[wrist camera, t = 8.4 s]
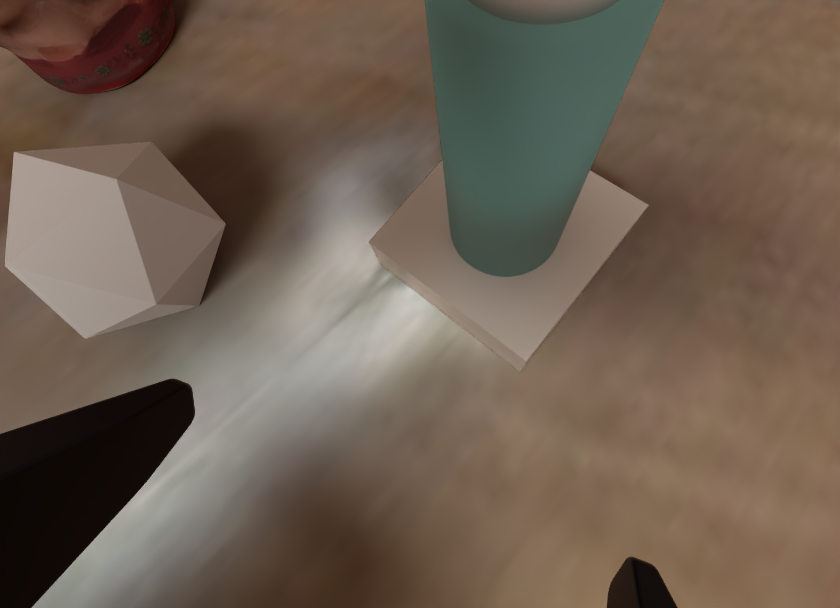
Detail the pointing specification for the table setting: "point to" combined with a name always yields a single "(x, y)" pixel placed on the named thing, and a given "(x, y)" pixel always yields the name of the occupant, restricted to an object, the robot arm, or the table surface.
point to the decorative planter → (87, 39)
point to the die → (109, 234)
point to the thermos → (525, 114)
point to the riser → (493, 295)
